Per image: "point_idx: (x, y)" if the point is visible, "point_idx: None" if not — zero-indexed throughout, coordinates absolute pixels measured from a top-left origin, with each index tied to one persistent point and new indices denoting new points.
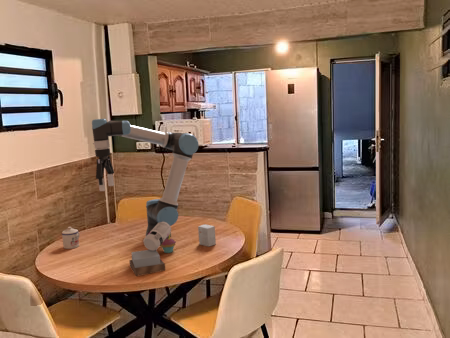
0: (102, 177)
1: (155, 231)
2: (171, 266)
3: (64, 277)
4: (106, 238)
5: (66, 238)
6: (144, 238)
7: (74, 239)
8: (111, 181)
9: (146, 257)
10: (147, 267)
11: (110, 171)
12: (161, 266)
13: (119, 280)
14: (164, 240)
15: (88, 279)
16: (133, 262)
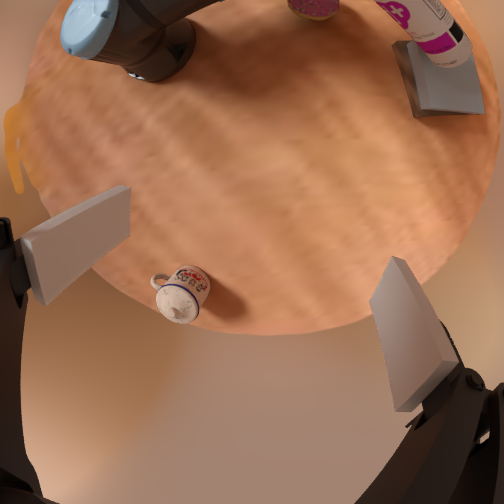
0: (480, 379)
1: (452, 21)
2: None
3: (420, 271)
4: (137, 199)
5: (201, 305)
6: (458, 62)
7: (197, 284)
8: (100, 218)
9: (475, 80)
10: None
11: (6, 282)
12: None
13: (481, 153)
14: (321, 1)
15: (454, 219)
16: (454, 111)
